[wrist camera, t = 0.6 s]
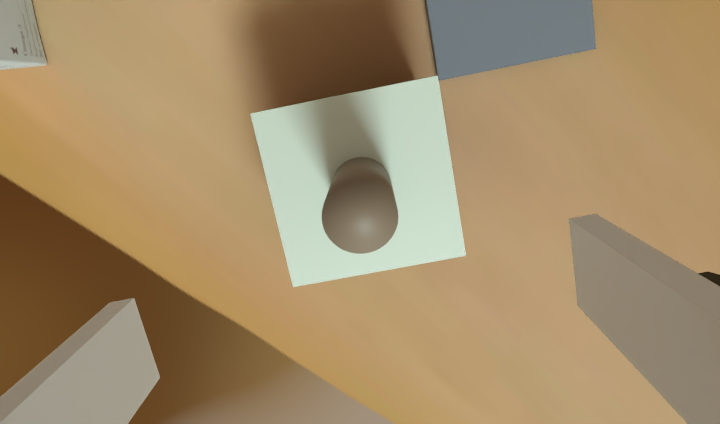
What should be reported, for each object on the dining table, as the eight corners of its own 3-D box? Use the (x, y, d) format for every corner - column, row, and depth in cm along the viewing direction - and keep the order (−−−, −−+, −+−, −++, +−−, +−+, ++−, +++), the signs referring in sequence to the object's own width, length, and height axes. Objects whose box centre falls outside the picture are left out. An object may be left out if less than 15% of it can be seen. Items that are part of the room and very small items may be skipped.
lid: (254, 112, 31) (215, 124, 23) (435, 75, 30) (459, 74, 22) (295, 279, 34) (273, 341, 26) (462, 249, 33) (492, 303, 25)
